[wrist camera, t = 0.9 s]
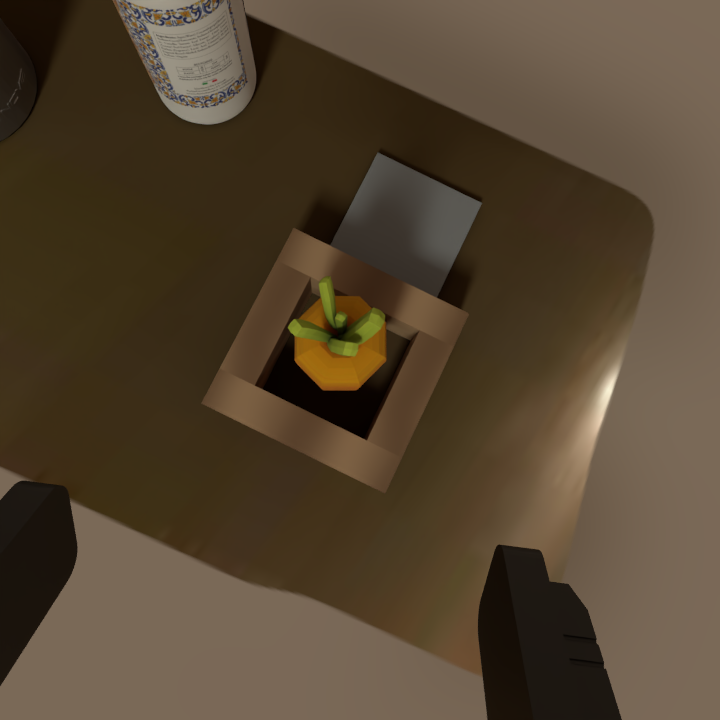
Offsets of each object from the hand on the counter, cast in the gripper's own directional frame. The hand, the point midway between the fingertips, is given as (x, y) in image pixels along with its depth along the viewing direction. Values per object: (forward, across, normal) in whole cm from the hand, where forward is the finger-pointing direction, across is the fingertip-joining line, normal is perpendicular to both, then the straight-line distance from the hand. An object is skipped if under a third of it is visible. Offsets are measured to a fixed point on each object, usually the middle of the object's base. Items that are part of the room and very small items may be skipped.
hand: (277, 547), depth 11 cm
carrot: (+27, +1, +11) cm, 29 cm away
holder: (+27, +1, +11) cm, 29 cm away
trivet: (+33, -2, +3) cm, 33 cm away
